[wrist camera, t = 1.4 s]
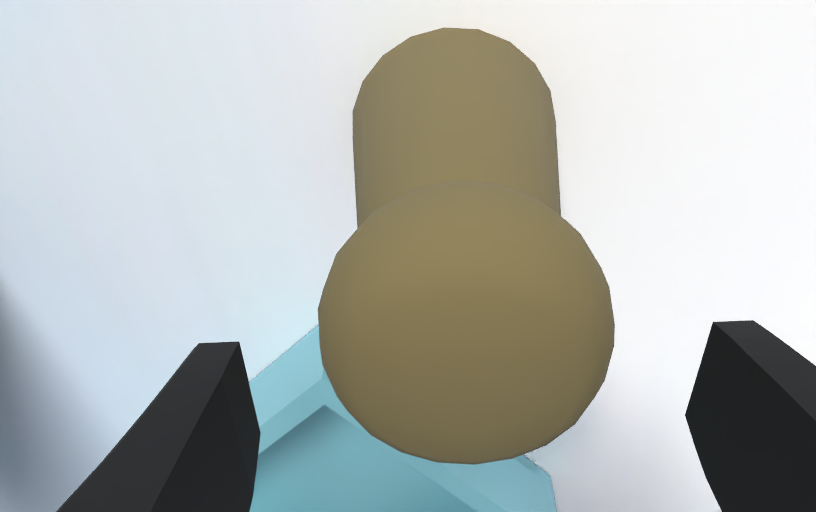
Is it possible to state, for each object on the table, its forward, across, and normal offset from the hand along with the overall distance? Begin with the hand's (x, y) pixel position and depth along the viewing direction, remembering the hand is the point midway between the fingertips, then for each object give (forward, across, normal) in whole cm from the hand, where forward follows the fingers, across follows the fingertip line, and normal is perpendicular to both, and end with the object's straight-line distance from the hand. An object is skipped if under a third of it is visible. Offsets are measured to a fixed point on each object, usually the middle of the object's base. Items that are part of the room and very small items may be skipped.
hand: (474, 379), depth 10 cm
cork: (+11, -1, +1) cm, 11 cm away
